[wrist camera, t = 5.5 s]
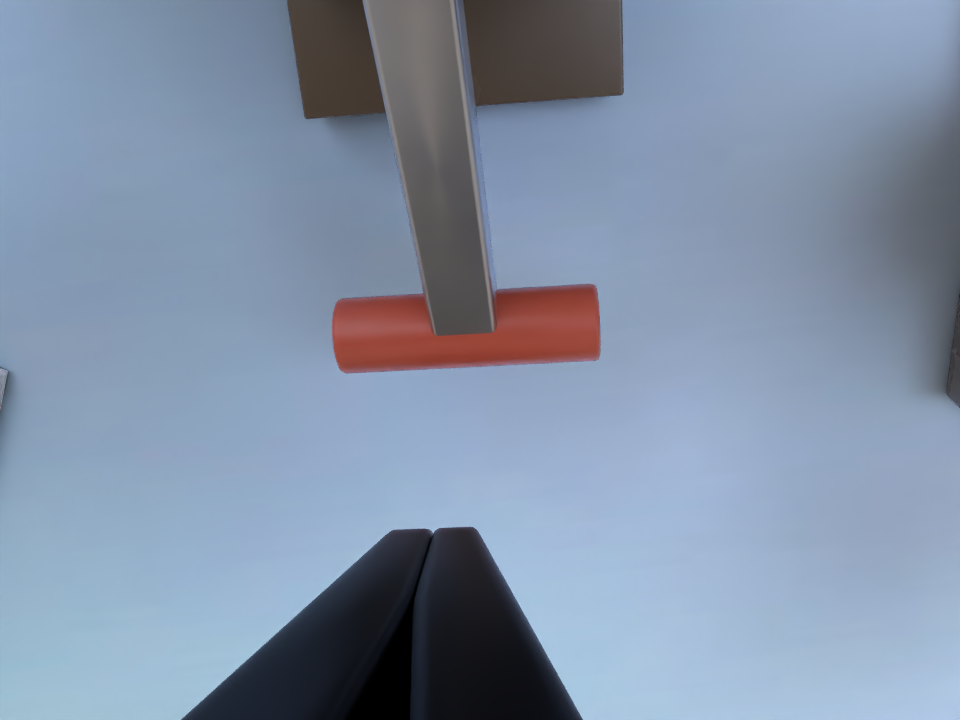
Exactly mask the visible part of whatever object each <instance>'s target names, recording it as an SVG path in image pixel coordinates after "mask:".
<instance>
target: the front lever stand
mask: <svg viewBox="0 0 960 720" xmlns="http://www.w3.org/2000/svg"><path fill="white" fill-rule="evenodd" d="M946 394H947V396H948V397H949V398H950V399H951V400H952V401H953V402H954V403H955V404H956V405H957V406H958V407H959V408H960V296H959V303H958V311H957V318H956V325H955V333H954V340H953V347H952V355H951V362H950V370H949V377H948V384H947V392H946Z"/></svg>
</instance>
